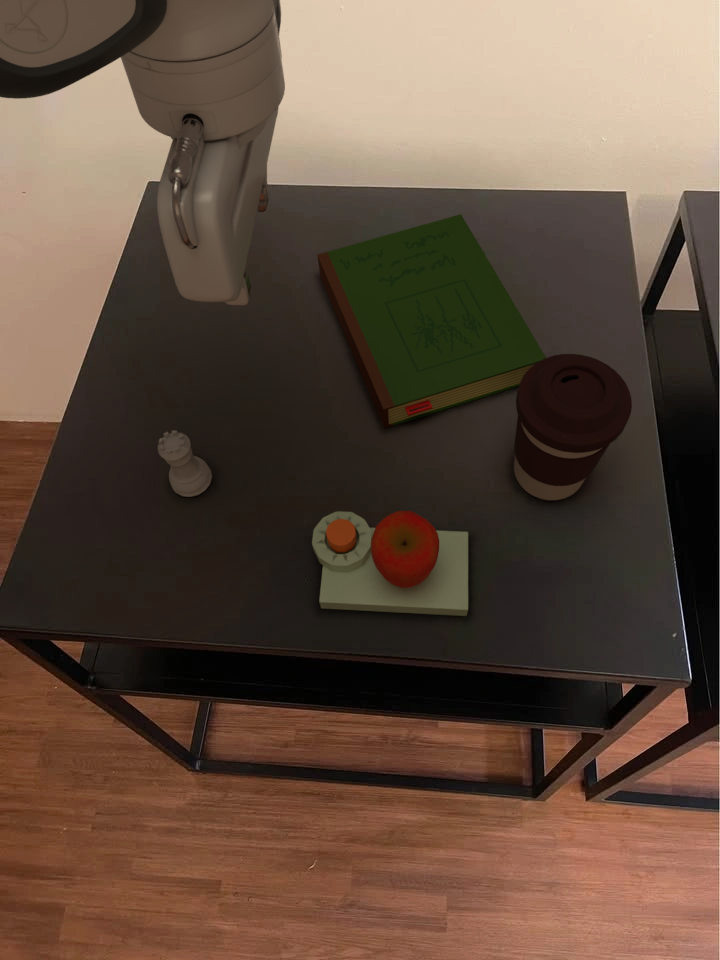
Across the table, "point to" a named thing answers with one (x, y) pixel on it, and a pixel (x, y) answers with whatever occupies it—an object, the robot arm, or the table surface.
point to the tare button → (341, 535)
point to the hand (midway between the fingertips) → (248, 249)
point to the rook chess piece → (184, 465)
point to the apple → (405, 548)
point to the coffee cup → (566, 422)
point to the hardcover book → (427, 319)
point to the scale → (364, 588)
